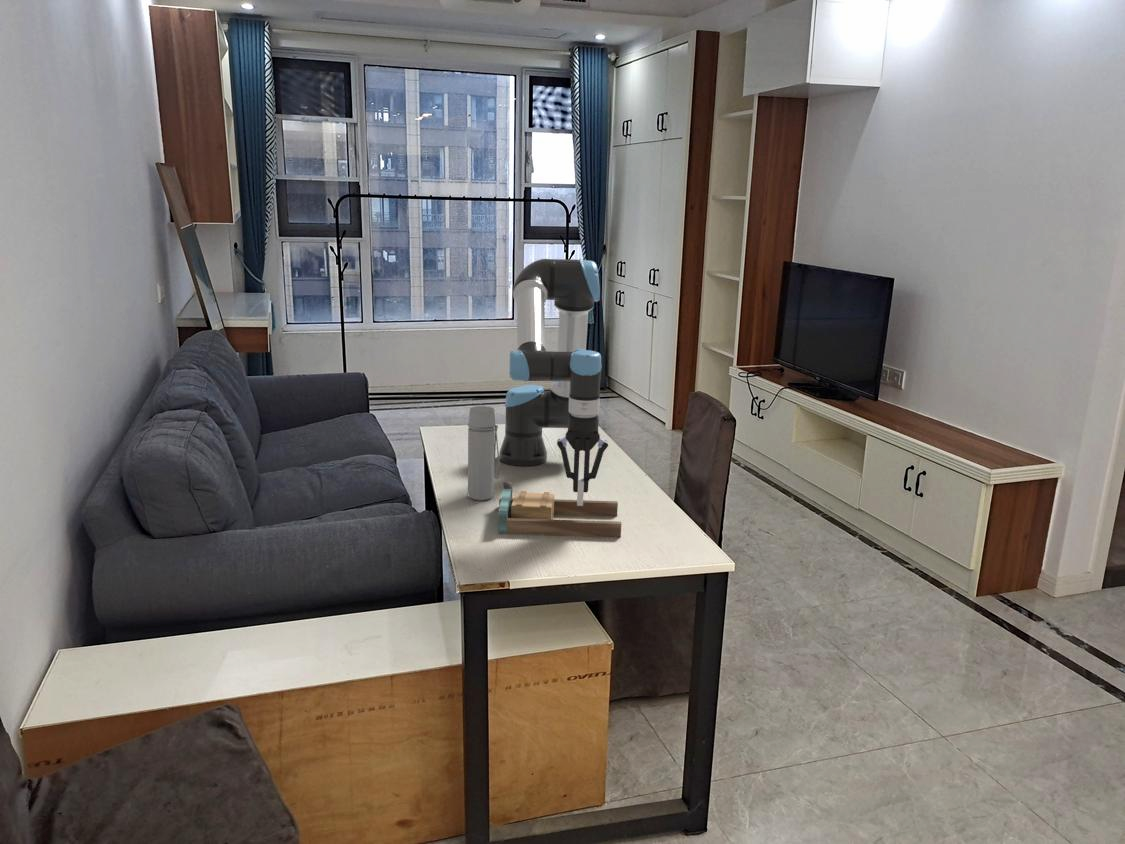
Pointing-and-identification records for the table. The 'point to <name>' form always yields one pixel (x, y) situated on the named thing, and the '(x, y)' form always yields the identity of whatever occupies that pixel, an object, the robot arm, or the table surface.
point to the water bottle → (482, 453)
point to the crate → (532, 505)
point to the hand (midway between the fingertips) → (579, 503)
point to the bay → (560, 526)
